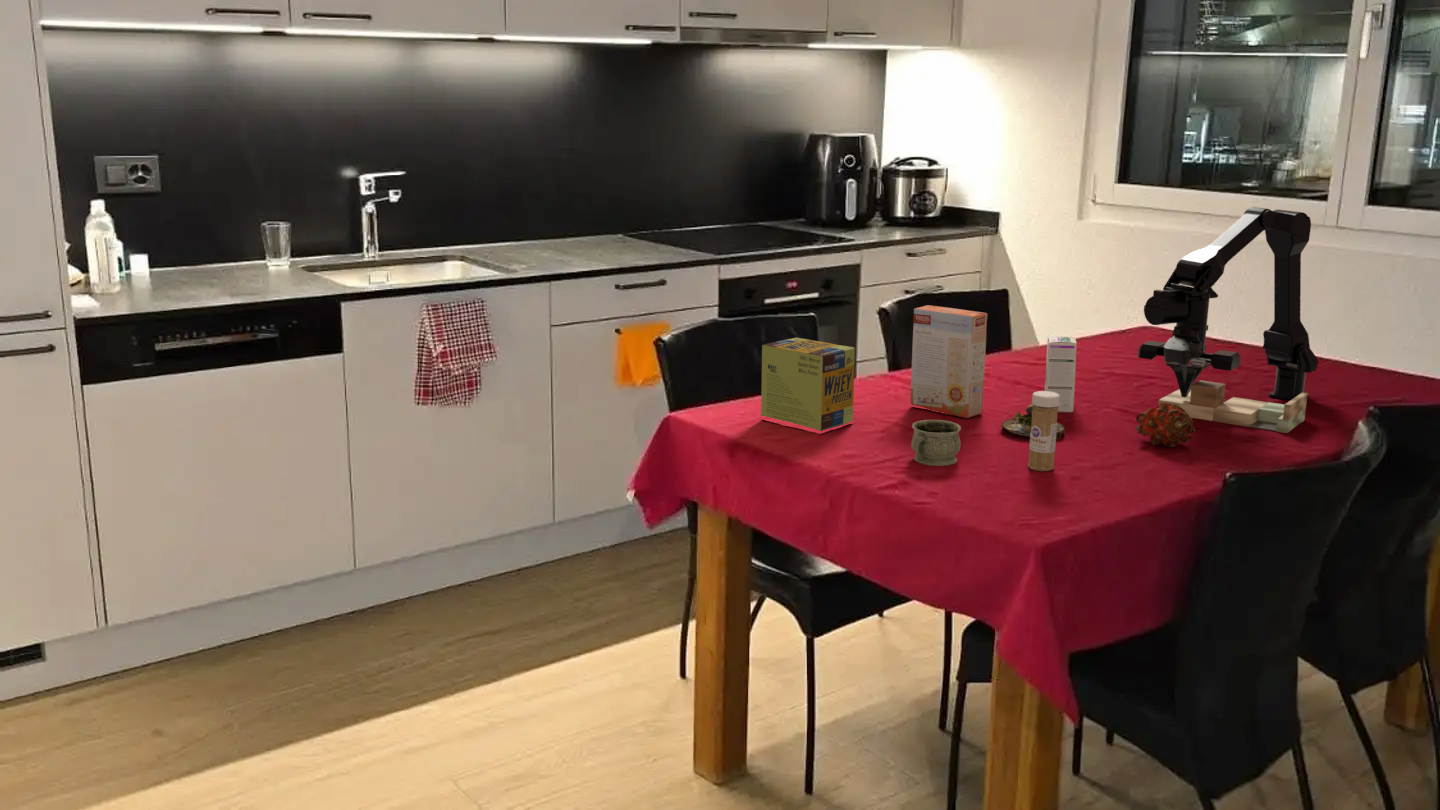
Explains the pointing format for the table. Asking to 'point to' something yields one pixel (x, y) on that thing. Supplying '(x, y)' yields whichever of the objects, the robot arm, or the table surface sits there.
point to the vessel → (936, 442)
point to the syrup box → (1061, 370)
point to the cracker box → (948, 360)
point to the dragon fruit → (1166, 425)
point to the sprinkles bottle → (1043, 430)
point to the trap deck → (1246, 412)
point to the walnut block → (1207, 394)
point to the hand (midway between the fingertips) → (1184, 396)
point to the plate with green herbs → (1026, 424)
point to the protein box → (808, 383)
